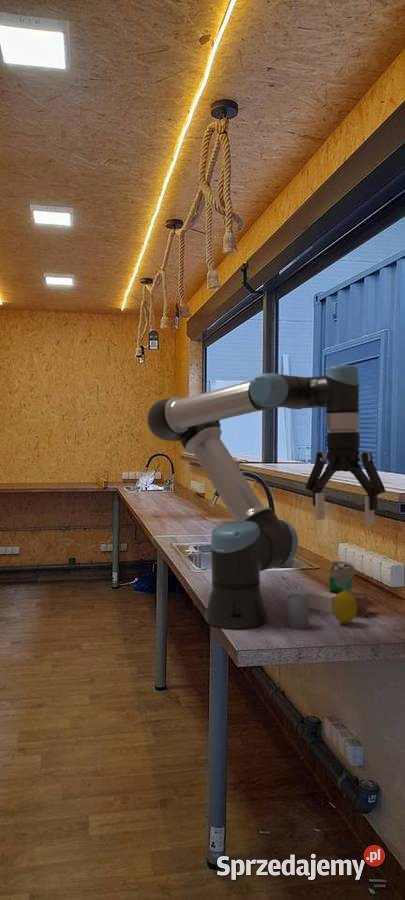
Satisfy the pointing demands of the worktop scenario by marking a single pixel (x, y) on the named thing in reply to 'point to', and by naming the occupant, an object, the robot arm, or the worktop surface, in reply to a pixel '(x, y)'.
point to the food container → (341, 577)
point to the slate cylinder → (297, 612)
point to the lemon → (344, 607)
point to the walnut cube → (360, 603)
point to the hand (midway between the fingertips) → (344, 522)
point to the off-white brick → (320, 600)
